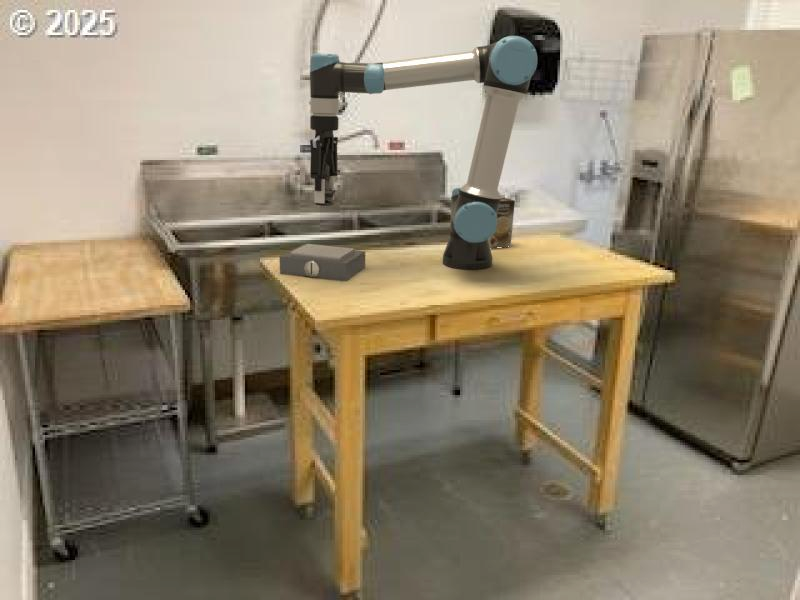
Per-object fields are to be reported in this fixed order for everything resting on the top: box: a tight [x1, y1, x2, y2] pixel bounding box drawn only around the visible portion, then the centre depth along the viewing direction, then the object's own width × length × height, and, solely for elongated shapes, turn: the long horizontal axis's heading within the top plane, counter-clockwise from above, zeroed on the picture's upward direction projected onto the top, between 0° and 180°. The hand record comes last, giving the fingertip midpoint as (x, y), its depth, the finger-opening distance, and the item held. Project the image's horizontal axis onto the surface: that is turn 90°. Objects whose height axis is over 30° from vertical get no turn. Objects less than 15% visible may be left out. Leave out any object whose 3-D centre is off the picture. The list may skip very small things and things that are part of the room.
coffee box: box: [488, 197, 516, 248], centre depth 225 cm, size 9×6×16 cm
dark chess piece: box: [314, 163, 336, 207], centre depth 185 cm, size 6×6×12 cm
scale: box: [279, 243, 366, 282], centre depth 192 cm, size 20×16×6 cm
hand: (324, 200), depth 186 cm, fingers closed on dark chess piece, 6 cm apart
